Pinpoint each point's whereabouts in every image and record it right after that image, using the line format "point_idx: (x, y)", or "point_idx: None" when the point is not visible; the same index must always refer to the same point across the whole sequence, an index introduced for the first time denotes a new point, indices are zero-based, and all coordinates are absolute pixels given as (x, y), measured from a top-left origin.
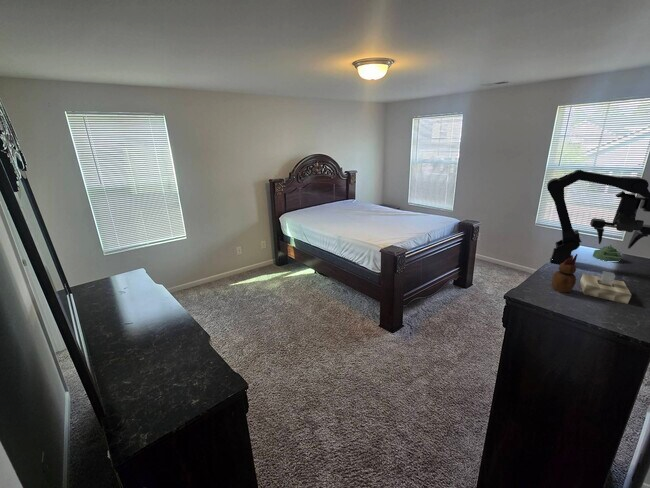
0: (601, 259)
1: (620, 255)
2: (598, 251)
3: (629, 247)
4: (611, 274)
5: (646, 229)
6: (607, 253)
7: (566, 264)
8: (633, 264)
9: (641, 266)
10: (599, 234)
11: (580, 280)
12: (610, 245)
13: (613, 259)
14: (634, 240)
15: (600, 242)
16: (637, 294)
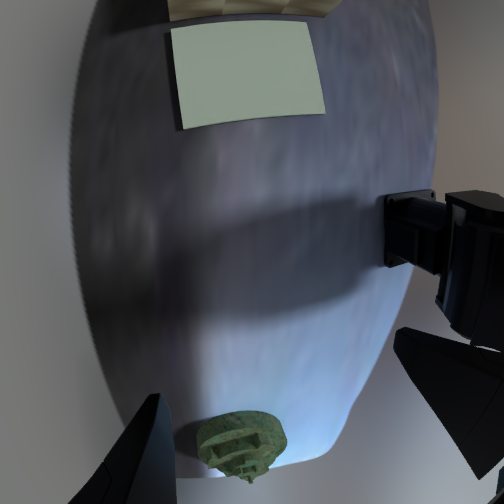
0: (254, 413)
1: (204, 459)
2: (277, 442)
3: (152, 400)
4: None
5: None
6: (247, 443)
7: None
8: None
9: None
10: (500, 355)
11: (328, 12)
12: (252, 480)
13: (218, 426)
14: (118, 479)
15: (410, 335)
16: (104, 42)
